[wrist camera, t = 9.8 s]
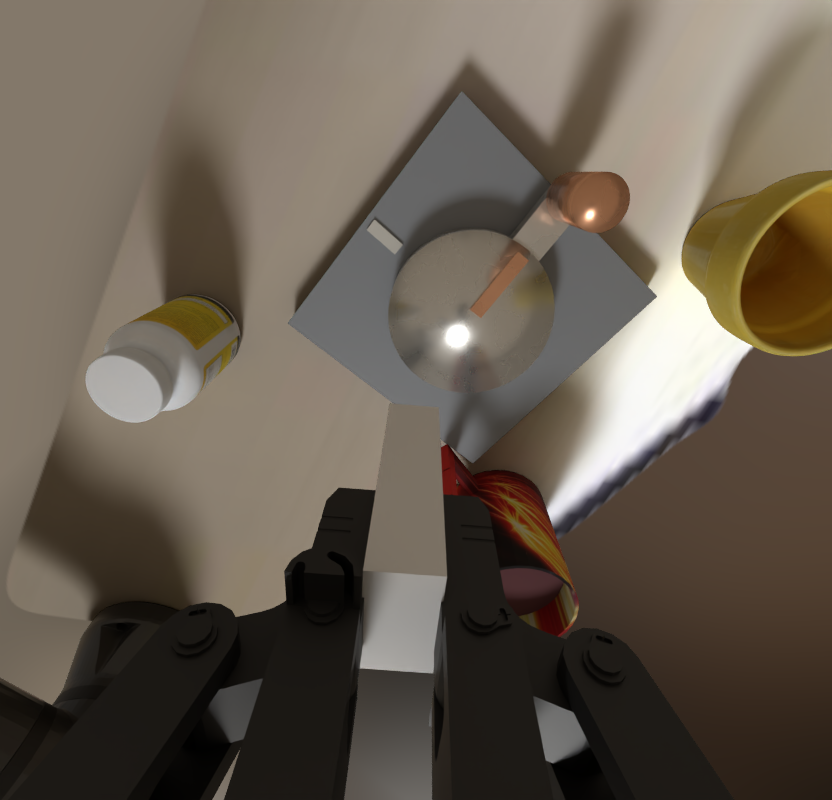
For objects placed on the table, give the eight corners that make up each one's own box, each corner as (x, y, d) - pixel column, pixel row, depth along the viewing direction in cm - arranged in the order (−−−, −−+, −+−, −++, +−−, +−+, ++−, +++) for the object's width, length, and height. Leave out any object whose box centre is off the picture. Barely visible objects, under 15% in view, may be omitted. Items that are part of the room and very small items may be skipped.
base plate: (471, 451, 43) (473, 464, 41) (294, 316, 38) (286, 324, 36) (645, 290, 36) (658, 297, 34) (459, 95, 31) (462, 90, 29)
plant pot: (828, 239, 34) (965, 262, 26) (708, 339, 38) (792, 389, 29) (750, 136, 32) (875, 122, 23) (628, 254, 35) (695, 281, 26)
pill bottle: (163, 284, 37) (61, 329, 27) (244, 300, 37) (174, 350, 27) (167, 359, 40) (75, 425, 29) (242, 373, 40) (178, 443, 30)
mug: (443, 434, 43) (448, 523, 32) (563, 495, 45) (605, 595, 35) (393, 506, 46) (384, 606, 36) (507, 557, 49) (529, 665, 39)
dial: (477, 408, 39) (489, 460, 32) (359, 325, 36) (343, 362, 29) (638, 233, 32) (697, 250, 25) (511, 114, 29) (537, 96, 22)
